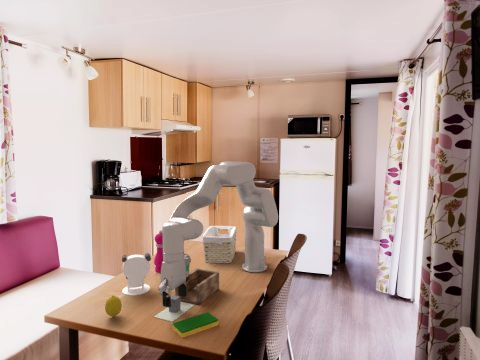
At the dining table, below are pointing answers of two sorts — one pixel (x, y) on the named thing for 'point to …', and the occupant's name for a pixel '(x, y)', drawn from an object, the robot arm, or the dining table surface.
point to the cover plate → (173, 315)
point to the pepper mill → (159, 251)
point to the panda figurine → (136, 273)
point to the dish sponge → (195, 324)
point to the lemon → (113, 306)
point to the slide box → (200, 286)
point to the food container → (187, 261)
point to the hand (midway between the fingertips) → (174, 301)
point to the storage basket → (219, 244)
